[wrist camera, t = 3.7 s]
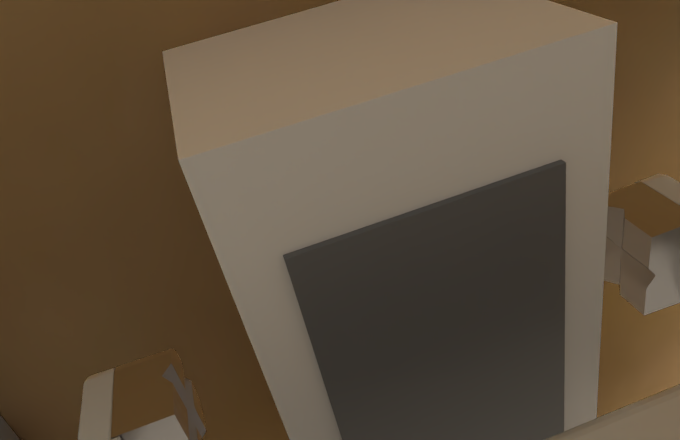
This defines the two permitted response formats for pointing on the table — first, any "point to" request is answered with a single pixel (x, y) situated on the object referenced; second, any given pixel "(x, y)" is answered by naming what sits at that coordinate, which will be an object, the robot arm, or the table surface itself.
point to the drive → (409, 210)
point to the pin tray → (6, 431)
